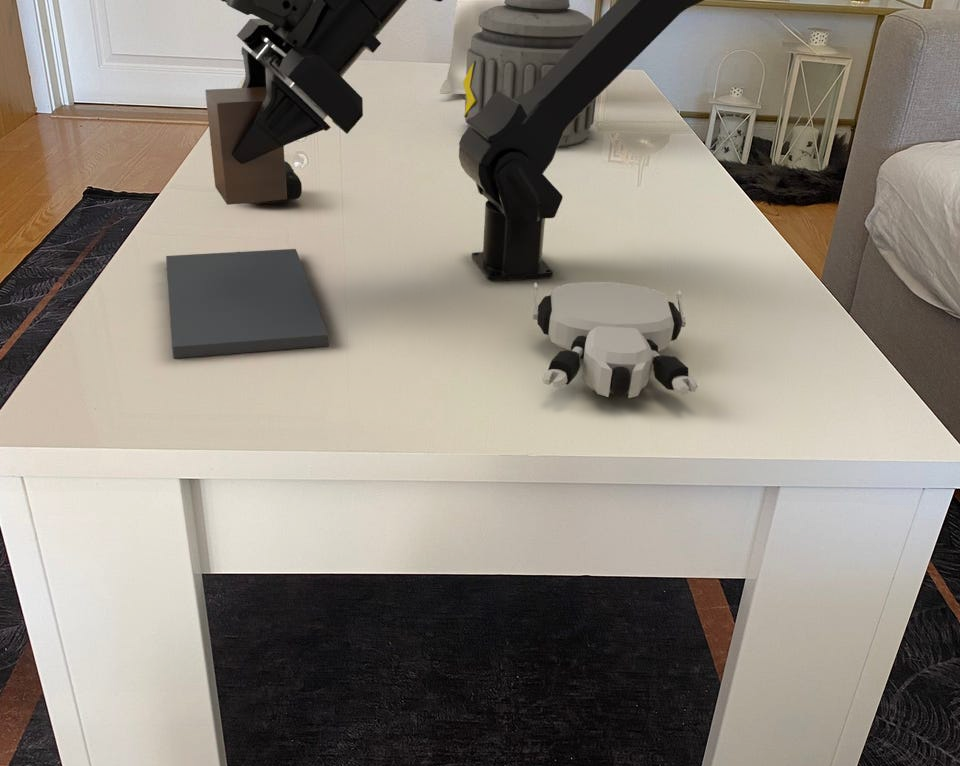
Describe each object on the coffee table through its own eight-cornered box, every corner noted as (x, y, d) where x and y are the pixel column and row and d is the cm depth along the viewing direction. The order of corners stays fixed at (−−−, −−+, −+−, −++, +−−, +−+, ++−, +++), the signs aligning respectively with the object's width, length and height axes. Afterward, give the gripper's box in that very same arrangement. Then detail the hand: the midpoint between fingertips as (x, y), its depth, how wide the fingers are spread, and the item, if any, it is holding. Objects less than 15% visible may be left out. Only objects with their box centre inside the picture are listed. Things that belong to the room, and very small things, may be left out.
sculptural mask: (434, 99, 157) (436, -15, 148) (465, 86, 166) (468, -21, 158) (534, 113, 151) (542, -4, 143) (559, 99, 161) (569, -11, 152)
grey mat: (328, 346, 79) (328, 334, 79) (173, 358, 76) (172, 346, 75) (296, 258, 95) (295, 248, 95) (167, 265, 92) (166, 255, 92)
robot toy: (699, 425, 72) (672, 327, 84) (710, 373, 70) (681, 279, 82) (533, 417, 72) (529, 320, 84) (537, 364, 70) (533, 271, 82)
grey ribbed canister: (616, 146, 138) (645, -100, 122) (492, 153, 131) (505, -106, 115) (558, 115, 152) (577, -109, 136) (444, 120, 146) (450, -114, 130)
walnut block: (273, 182, 86) (266, 86, 82) (287, 199, 82) (280, 99, 78) (215, 187, 84) (205, 89, 80) (226, 205, 80) (216, 103, 76)
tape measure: (304, 208, 108) (302, 174, 106) (240, 211, 106) (237, 176, 104) (294, 190, 114) (292, 157, 112) (233, 192, 112) (231, 159, 110)
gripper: (253, -89, 81) (132, 58, 83) (314, -70, 66) (166, 108, 68) (348, 13, 88) (235, 147, 90) (422, 51, 73) (285, 209, 75)
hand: (229, 151), depth 81 cm, fingers closed on walnut block, 5 cm apart
